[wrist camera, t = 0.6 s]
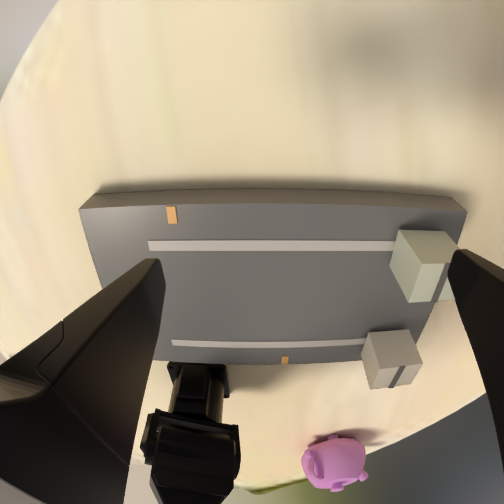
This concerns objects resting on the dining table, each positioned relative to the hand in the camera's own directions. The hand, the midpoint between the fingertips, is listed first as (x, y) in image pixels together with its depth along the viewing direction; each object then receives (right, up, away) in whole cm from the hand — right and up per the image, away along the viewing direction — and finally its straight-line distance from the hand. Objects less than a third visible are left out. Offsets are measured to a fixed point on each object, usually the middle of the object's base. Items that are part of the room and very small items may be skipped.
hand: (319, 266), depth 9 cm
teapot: (+12, -32, +37) cm, 51 cm away
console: (0, -2, +17) cm, 17 cm away
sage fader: (+10, +1, +12) cm, 16 cm away
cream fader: (+10, -8, +17) cm, 22 cm away
